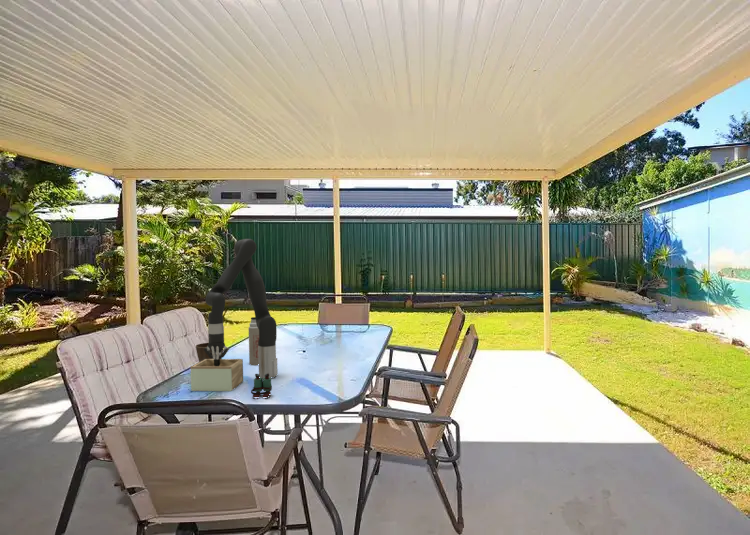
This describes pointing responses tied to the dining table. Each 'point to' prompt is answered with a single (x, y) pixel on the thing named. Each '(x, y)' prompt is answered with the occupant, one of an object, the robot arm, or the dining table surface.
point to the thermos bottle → (253, 342)
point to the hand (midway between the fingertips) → (217, 366)
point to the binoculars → (262, 386)
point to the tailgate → (211, 378)
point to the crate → (235, 368)
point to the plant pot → (203, 352)
